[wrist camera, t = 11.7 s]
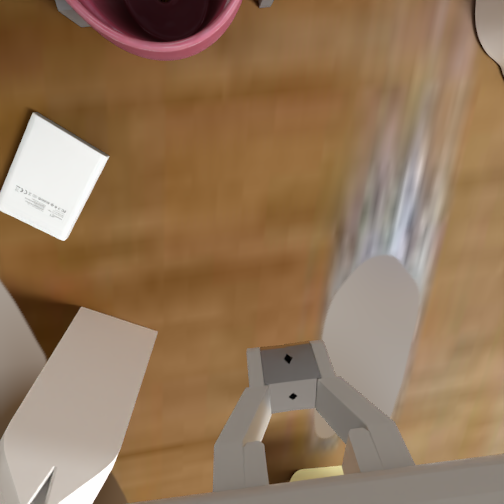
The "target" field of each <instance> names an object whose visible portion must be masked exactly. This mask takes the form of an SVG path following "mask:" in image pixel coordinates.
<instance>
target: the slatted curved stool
mask: <svg viewBox="0 0 504 504" xmlns="http://www.w3.org/2000/svg"><path fill="white" fill-rule="evenodd" d="M338 475H344V473H343V469H342V466H332V467H321V468H310V469H300V470H298V471H297V472H295V473H294V474H293V476H292V478H291V480H290V482H293V481H300V480H308V479H315V478H323V477H330V476H338Z"/></svg>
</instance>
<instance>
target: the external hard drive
mask: <svg viewBox="0 0 504 504" xmlns="http://www.w3.org/2000/svg"><path fill="white" fill-rule="evenodd" d="M108 158H109V155H107V154H105V153H104V152H102V151H100V150H99V149H97V148H95V147H94V146H92V145H90V144H89V143H87V142H86V141H84V140H82V139H81V138H79V137H77V136H76V135H74V134H72V133H71V132H69V131H67V130H66V129H64V128H62V127H61V126H59V125H58V124H56V123H54V122H53V121H51V120H49V119H48V118H46V117H44V116H43V115H41V114H40V113H38V112H33V113H32V115H31V118H30V120H29V123H28V125H27V128H26V130H25V133H24V135H23V138H22V140H21V142H20V145H19V147H18V150H17V152H16V155H15V157H14V160H13V162H12V164H11V167H10V169H9V172H8V174H7V177H6V179H5V182H4V184H3V187H2V189H1V192H0V211H2V212H4V213H6V214H8V215H10V216H12V217H15V218H17V219H19V220H21V221H23V222H25V223H27V224H29V225H31V226H33V227H35V228H37V229H39V230H41V231H43V232H45V233H48V234H50V235H52V236H54V237H56V238H58V239H60V240H63V241H65V240H66V239H67V238H68V236H69V234H70V232H71V230H72V228H73V226H74V224H75V222H76V220H77V218H78V217H79V215H80V213H81V211H82V209H83V207H84V205H85V203H86V201H87V199H88V197H89V195H90V193H91V191H92V189H93V187H94V185H95V183H96V181H97V180H98V178H99V176H100V174H101V172H102V170H103V168H104V166H105V164H106V162H107V160H108Z"/></svg>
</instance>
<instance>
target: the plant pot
mask: <svg viewBox="0 0 504 504" xmlns="http://www.w3.org/2000/svg"><path fill="white" fill-rule="evenodd" d="M65 1H66V2H67V3H68V4H69V5H70V6H71V7H72V8H73V9H74V10H75V11H76V12H77V13H78V14H79V15H80V16H81V17H82V18H83V19H84V20H85V21H86V22H87V23H88V24H89V25H90V26H91V27H92V28H94V29H95V30H96V31H97V32H98V33H99V34H101V35H102V36H103V37H104V38H106V39H107V40H109V41H110V42H112V43H113V44H115V45H116V46H118V47H120V48H121V49H123V50H125V51H127V52H130V53H132V54H135V55H137V56H140V57H143V58H148V59H153V60H164V61H165V60H178V59H183V58H187V57H190V56H193V55H195V54H197V53H199V52H201V51H203V50H205V49H206V48H208V47H209V46H210V45H212V44H213V43H214V42H215V41H217V40H218V39H219V38H220V36H221V35H222V34H223V33H224V32H225V31H226V29H227V28H228V27H229V25H230V24H231V22H232V21H233V19H234V17H235V15H236V13H237V11H238V9H239V7H240V5H241V2H242V0H169V1H167V2H162V1H160V0H65Z"/></svg>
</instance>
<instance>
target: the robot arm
mask: <svg viewBox="0 0 504 504" xmlns="http://www.w3.org/2000/svg"><path fill="white" fill-rule="evenodd" d="M475 21H476V29H477V33H478V37H479V40H480V42H481V45H482V46H483V48H484V50H485V51H486V53H487V54H488V55H489V56H490V57H491V58H492V59H494V60H495V61H496V62H497V63H498V64H499V65H500V67H501V69H502V72H503V75H504V0H476V7H475ZM247 364H248V376H249V388H245V390H244V392H243V394H242V395H241V397H240V399H239V401H238V403H237V405H236V406H235V408H234V410H233V412H232V414H231V416H230V417H229V419H228V421H227V423H226V425H225V427H224V428H223V430H222V432H221V434H220V436H219V438H218V439H217V441H216V443H215V445H214V471H213V492H210V493H202V494H195V495H187V496H180V497H172V498H165V499H157V500H149V501H142V502H134V503H127V504H504V454H497V455H489V456H482V457H474V458H467V459H459V460H451V461H444V462H436V463H429V464H421V465H415V464H414V461H413V459H412V457H411V455H410V453H409V451H408V449H407V447H406V445H405V443H404V440H403V438H402V436H401V434H400V432H399V430H398V428H397V426H396V424H395V422H394V421H393V420H391V419H390V418H389V417H388V416H387V415H385V414H384V413H383V412H382V411H381V410H380V409H378V408H377V407H376V406H375V405H374V404H373V403H371V402H370V401H369V400H368V399H367V398H365V397H364V396H363V395H362V394H361V393H360V392H358V391H357V390H356V389H355V388H354V387H352V386H351V385H350V384H349V383H348V382H347V381H345V380H344V379H343V378H342V377H341V376H338V377H336V374H335V371H334V369H333V366H332V363H331V360H330V357H329V355H328V352H327V349H326V346H325V344H324V342H323V340H316V341H305V342H298V343H291V344H284V345H278V346H267V347H260V348H259V347H257V348H248V349H247ZM311 408H316V410H317V411H318V413H319V414H320V415H321V416H322V417H323V418H324V419H325V421H326V422H327V423H328V424H329V425H330V426H331V428H332V429H333V430H334V431H335V432H336V433H337V435H338V436H339V437H340V438H341V439H342V440H343V442H344V443H345V444H346V448H345V453H344V458H343V463H342V469H343V473H344V475H338V476H330V477H323V478H315V479H308V480H300V481H293V482H285V483H277V484H270V485H269V480H268V472H267V464H266V456H265V447H264V444H263V443H262V442H261V441H262V439H263V436H264V433H265V431H266V428H267V426H268V423H269V420H270V418H271V414H272V413H279V412H285V411H291V410H301V409H311Z"/></svg>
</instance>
